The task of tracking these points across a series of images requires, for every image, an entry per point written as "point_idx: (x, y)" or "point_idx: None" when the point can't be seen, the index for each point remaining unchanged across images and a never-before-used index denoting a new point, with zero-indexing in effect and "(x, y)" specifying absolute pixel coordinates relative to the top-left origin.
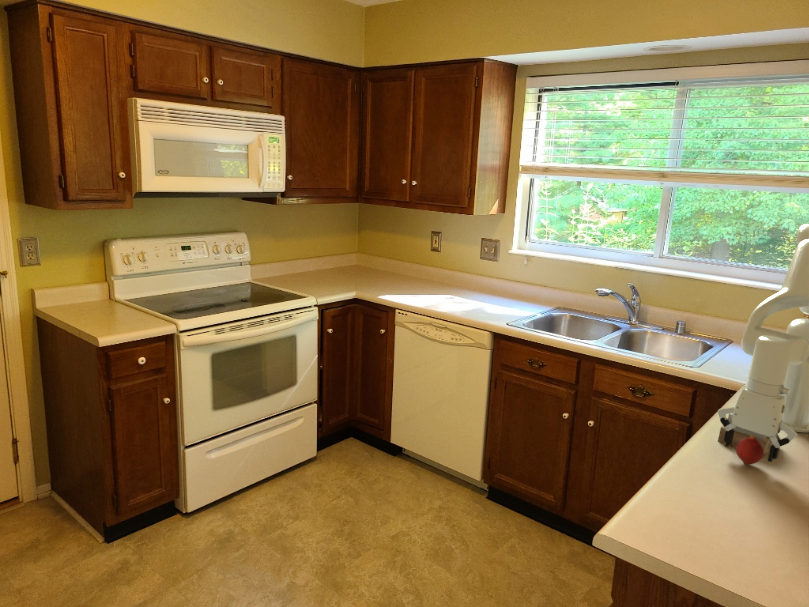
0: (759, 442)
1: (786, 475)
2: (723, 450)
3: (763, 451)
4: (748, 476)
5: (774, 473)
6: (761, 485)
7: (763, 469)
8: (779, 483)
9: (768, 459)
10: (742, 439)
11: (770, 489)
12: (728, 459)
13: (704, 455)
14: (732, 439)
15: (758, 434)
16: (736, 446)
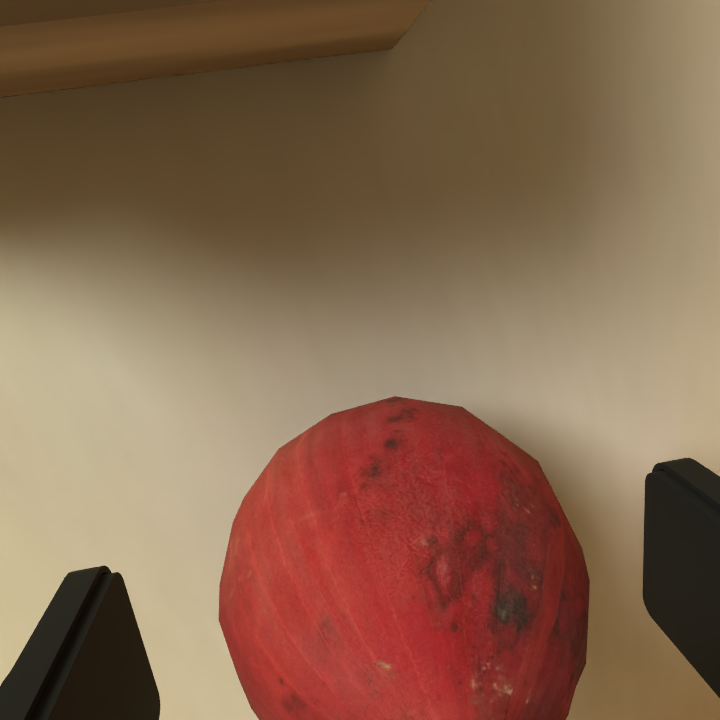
0: (555, 650)
1: (711, 317)
2: (26, 362)
3: (397, 33)
4: None
5: (617, 389)
6: (600, 696)
7: (517, 407)
8: None
9: (663, 620)
10: (267, 705)
11: (664, 691)
12: (204, 527)
13: None
14: (96, 632)
15: None
16: (28, 89)
